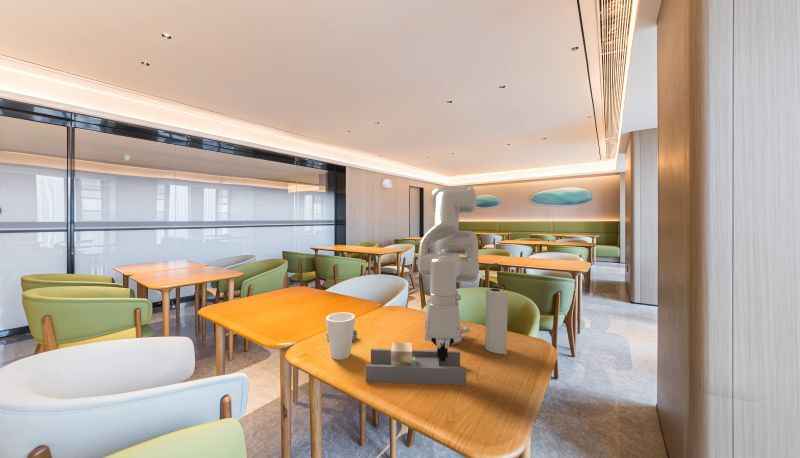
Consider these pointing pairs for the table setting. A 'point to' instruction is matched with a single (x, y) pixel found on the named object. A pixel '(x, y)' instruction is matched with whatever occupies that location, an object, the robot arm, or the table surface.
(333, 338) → the foam cup
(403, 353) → the maple block
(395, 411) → the table surface
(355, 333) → the egg carton
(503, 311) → the paper towel roll
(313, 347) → the table surface
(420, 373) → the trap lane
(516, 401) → the table surface
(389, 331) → the table surface
